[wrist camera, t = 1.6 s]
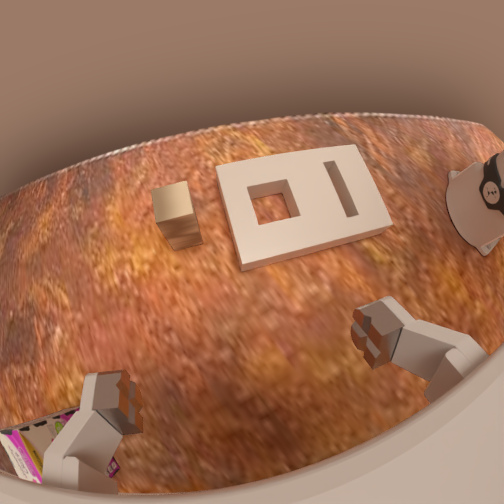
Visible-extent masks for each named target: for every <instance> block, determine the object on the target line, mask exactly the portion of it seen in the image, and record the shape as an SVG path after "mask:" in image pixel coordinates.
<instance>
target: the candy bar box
mask: <svg viewBox="0 0 504 504" xmlns="http://www.w3.org/2000/svg"><path fill="white" fill-rule="evenodd" d="M79 410H80V406H79V407H74V408H69V409H64V410H61V411H58V412H56V413H53V414H50V415H47V416H44V417H41V418H38V419H34V420H32V421H28V422H25V423H22V424H18V425H15V426H11V427H7V428H4V429H0V441H1V443H2V445H3V447H4V449H5V451H6V453H7V455H8V457H9V459H10V461H11V463H12V465H13V467H14V469H15V470H16V472H17V474H18V476H19V477H20V478H21V479H25V480H28V481H32V482H36V483H40V484H42V471H43V460H44V453H45V451H46V450H47V449H48V447H49V446H50V445H51V443H52V442H53V441H54V439H55V438H56V437H57V435H58V434H59V433H60V431H61V430H62V429H63V427H64V426H65V425H66V424H67V422H68V421H69V420H70V418H71V417H72V416H73V414H74V413H75V412H76V411H79ZM119 469H120V468H119V466H118V465H117V463H116V461H115V460H114V458H113V457H112V459H111V461H110V463H109V465H108V467H107V469H106V471H105V473H104V475H106V476H108V477H110V478H112V477H113V476H114V475H115V473H116V472H117V471H118V470H119Z"/></svg>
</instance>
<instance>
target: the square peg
mask: <svg viewBox="0 0 504 504" xmlns="http://www.w3.org/2000/svg"><path fill="white" fill-rule="evenodd" d="M151 193H152V200H153V207H154V214H155V220H156V224H157V225H158V227H159V228H160V230H161V232H162V233H163V235H164V236H165V238H166V239H167V241H168V242H169V244H170V245H171V247H172V248H173V250H174V251H177V250H181V249H185V248H189V247H193V246H196V245H200V244H203V242H202V238H201V233H200V229H199V225H198V220H197V216H196V213H195V209H194V206H193V202H192V199H191V195H190V191H189V188H188V184H187V181H183V182H179V183H175V184H171V185H167V186H164V187H160V188H156V189H153V190H151Z"/></svg>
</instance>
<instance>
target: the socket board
mask: <svg viewBox="0 0 504 504" xmlns="http://www.w3.org/2000/svg"><path fill="white" fill-rule="evenodd" d="M216 179H217V184H218V188H219V192H220V195H221V199H222V203H223V207H224V210H225V214H226V218H227V221H228V225H229V229H230V232H231V236H232V240H233V243H234V247H235V250H236V254H237V258H238V261H239V265H240V268H241V272H242V271H246V270H250V269H254V268H257V267H261V266H265V265H269V264H273V263H276V262H280V261H284V260H288V259H291V258H295V257H299V256H302V255H306V254H310V253H314V252H317V251H321V250H325V249H328V248H332V247H335V246H339V245H343V244H346V243H350V242H353V241H357V240H361V239H364V238H368V237H371V236H375V235H378V234H381V233H382V232H384V231H385V230H386V229H388V228H389V227H390V226H392V225H393V223H392V220H391V218H390V216H389V213H388V211H387V209H386V206H385V204H384V202H383V200H382V197H381V195H380V193H379V191H378V189H377V187H376V185H375V182H374V180H373V178H372V176H371V174H370V172H369V170H368V168H367V166H366V164H365V162H364V160H363V159H362V157H361V155H360V153H359V151H358V149H357V147H356V146H355V145H345V146H335V147H326V148H318V149H310V150H303V151H296V152H289V153H283V154H277V155H271V156H265V157H259V158H254V159H248V160H243V161H238V162H233V163H228V164H223V165H219V166H216ZM279 193H282V194H283V197H284V200H285V202H286V205H287V208H288V211H289V213H290V216H291V218H288V219H284V220H280V221H275V222H271V223H267V224H263V225H258V222H257V218H256V215H255V212H254V209H253V206H252V202H251V199H255V198H260V197H264V196H269V195H274V194H279Z"/></svg>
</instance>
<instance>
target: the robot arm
mask: <svg viewBox="0 0 504 504" xmlns="http://www.w3.org/2000/svg"><path fill="white" fill-rule="evenodd" d="M448 178H449V185H448V188H447V191H446V202H447V207H448V211H449V214H450V217H451V219H452V221H453V223H454V225H455V227H456V229H457V230H458V232H459V233H460V235H461V236H462V237H463V238H464V239H465V240H466V241H467V242H468V243H470V244H471V245H473V246H475V247H476V248H477V249H478V250H479V252H480V253H481V254H482V255H483V256H486V255H488V254H489V253H490V251H491V250H492V249H493V248H494V246H495V245H496V244H497V243H498V241H499V240H500V239H501V238H502V237H503V236H504V150H503V151H502V152H501V153H500V154H499V153H497V154H495V155H494V156H492V157H490V158H489V160H488V161H487V162H485V164H483V163H481V162H477V161H476V162H474V163H472V164H471V165H470V166H468V167H467V168H466V169H464V170H463V171H462V172H459V171H454V170H452V171H450V172H449V173H448ZM353 318H354V320H355V322H354V323H353V324H352V326H351V337H352V340H353V343H354V345H355V346H356V347H357V349H359V350H361V351H364V359H365V360H366V361H367V363H368V364H369V366H370V367H371V368H372V370H373V369H375V368H377V367H379V366H381V365H384V364H386V363H388V362H390V361H391V362H392V363H394V364H396V365H398V366H399V367H401V368H403V369H405V370H407V371H409V372H411V373H413V374H415V375H417V376H419V377H421V378H423V379H425V380H427V381H429V382H430V383H429V384H428V386H427V388H426V389H425V391H424V395H425V397H426V398H427V399H428V401H429V402H430V404H429V405H427V406H426V407H425V408H423V409H421V410H420V411H418V412H417V413H415V414H414V415H412V416H411V417H409V418H407V419H406V420H404V421H402V422H401V423H399V424H397V425H396V426H394V427H392V428H390V429H388V430H387V431H385V432H383V433H381V434H379V435H377V436H375V437H373V438H372V439H370V440H368V441H366V442H364V443H361V444H359V445H357V446H355V447H353V448H351V449H349V450H346V451H344V452H342V453H339V454H337V455H335V456H332V457H330V458H327V459H325V460H322V461H320V462H317V463H314V464H312V465H309V466H306V467H303V468H300V469H297V470H294V471H291V472H288V473H284V474H281V475H278V476H274V477H270V478H267V479H263V480H259V481H255V482H250V483H246V484H241V485H236V486H231V487H226V488H220V489H214V490H207V491H199V492H191V493H180V494H165V495H118V489H117V482H116V481H115V480H113V479H112V478H110V477H108V476H106V475H104V473H105V471H106V469H107V467H108V465H109V463H110V461H111V459H112V457H113V455H114V453H115V451H116V449H117V447H118V445H119V443H120V441H121V439H122V437H123V436H122V435H129V434H139V433H143V417H142V416H141V414H140V413H139V412H140V410H141V409H142V407H143V399H142V395H141V391H140V389H139V387H138V386H137V384H136V383H135V382H132V381H130V375H129V373H128V372H127V371H126V370H116V371H107V372H98V373H88V374H87V375H86V376H85V380H84V385H83V391H82V397H81V403H80V410H79V411H76V412H75V413H74V414H73V416H72V417H71V418H70V420H69V421H68V422H67V424H66V425H65V426H64V427H63V429H62V430H61V431H60V433H59V434H58V435H57V437H56V438H55V439H54V441H53V442H52V443H51V445H50V446H49V447H48V449H47V450H46V451H45V453H44V460H43V471H42V484H40V483H36V482H32V481H28V480H25V479H21V478H18V477H14V476H11V475H8V474H5V473H2V472H0V504H504V342H503V343H502V344H501V345H500V346H499V347H498V348H497V349H496V350H495V351H494V352H493V353H492V354H491V355H490V356H489V355H488V354H487V353H486V352H485V351H484V350H483V349H482V348H481V347H480V346H479V345H478V344H477V343H476V342H475V341H474V340H473V339H472V338H471V337H470V336H469V335H467V334H464V333H460V332H457V331H454V330H451V329H448V328H445V327H442V326H438V325H435V324H432V323H429V322H426V321H423V320H420V319H418V320H415V319H414V318H413V317H412V316H411V315H410V314H409V313H408V312H407V311H406V310H405V309H404V308H403V307H402V306H401V305H400V304H399V303H398V302H397V301H396V300H395V299H394V298H393V297H391V296H386V297H384V298H382V299H379V300H377V301H374V302H371V303H369V304H366V305H364V306H361V307H359V308H356V309H355V310H354V312H353Z"/></svg>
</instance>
